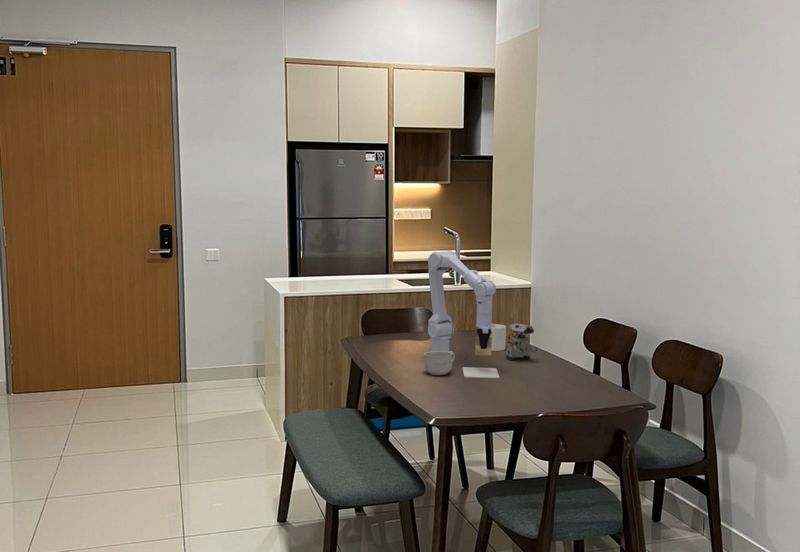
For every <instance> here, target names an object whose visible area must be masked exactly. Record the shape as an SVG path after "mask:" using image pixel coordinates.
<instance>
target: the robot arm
mask: <svg viewBox="0 0 800 552" xmlns="http://www.w3.org/2000/svg"><path fill="white" fill-rule="evenodd" d="M427 262H428V280H429V288H430V289H429V290H430V298H431V308H432V315H431V317H430V318H429V319H428V320H427V321H428V327H427V334H428V335H429V338H430V339H431V348H430V349H431V351H448V352H449V351H450V339H451V338H452V335H453V334H454V332H455V326H454V324H453V322H452V317H451V316H450V315H449V314H448V313H447V306H446V298H445V288H444V279H443V277H444V276H443V275H444V274H445V273H446V271H448V270H449V269H452V270H453V271H455V272H456V273H458V274H459V275H461V276H462V277H463V281H464V283H466V284H467V286H469V287H470V288H471V289H473V291H474V294H475V299H476V324H475V327H476V329H475V331H476V333H477V335H478V336H479V340H480V347H481V349H486V348H487V344H488V340H489V337H490V335H491V333H492V331H491V329H490V328H491V327H495V325H494V324H495V323H492V322H493V296H494V295H495V294H496V292H497V288H496V285H495V283H494V282H493V280H486V278H485V277H483V276H482V275H481V274H479V271H478V270H474V269H471V270H470V269H469V268H468V267H467V266H466V265H465V264H464V263H463V262H462V261H461V259H459V258H458V255H457V254H456V253H455V252H453V251H452V250H448V251H438V252H437V251H433V252H431V254H430V255H429V256H428V258H427Z"/></svg>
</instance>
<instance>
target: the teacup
mask: <svg viewBox="0 0 800 552" xmlns="http://www.w3.org/2000/svg"><path fill="white" fill-rule="evenodd" d="M423 359H424V361H423V362H424V368H425V371H426V372H427V373H429V375H433V376H443V375H447V374H448V373H449V372H450V371H451V370H452V369H453V368H452V367H453V362H454V361H455V359H456V354H455V351H452V350H449V352H448V351H426V352H424V353H423Z"/></svg>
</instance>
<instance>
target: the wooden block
mask: <svg viewBox="0 0 800 552" xmlns="http://www.w3.org/2000/svg"><path fill="white" fill-rule="evenodd" d="M474 346H475V347H474V350H475V351H474V355H475V356H492V351H491V347H492V337H489V340H488V344H487V348H486V349H481V347H480V340H479V336H475V344H474Z"/></svg>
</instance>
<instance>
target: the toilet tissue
mask: <svg viewBox="0 0 800 552" xmlns="http://www.w3.org/2000/svg"><path fill="white" fill-rule="evenodd" d="M493 324H494V325H495V327H491V328H490V329H491V331H492V333H491V335H490V337H492V347H491V352H500V351H505V350H506V342H507V341H506V340H507V325H504V324H498V323H493Z"/></svg>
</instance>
